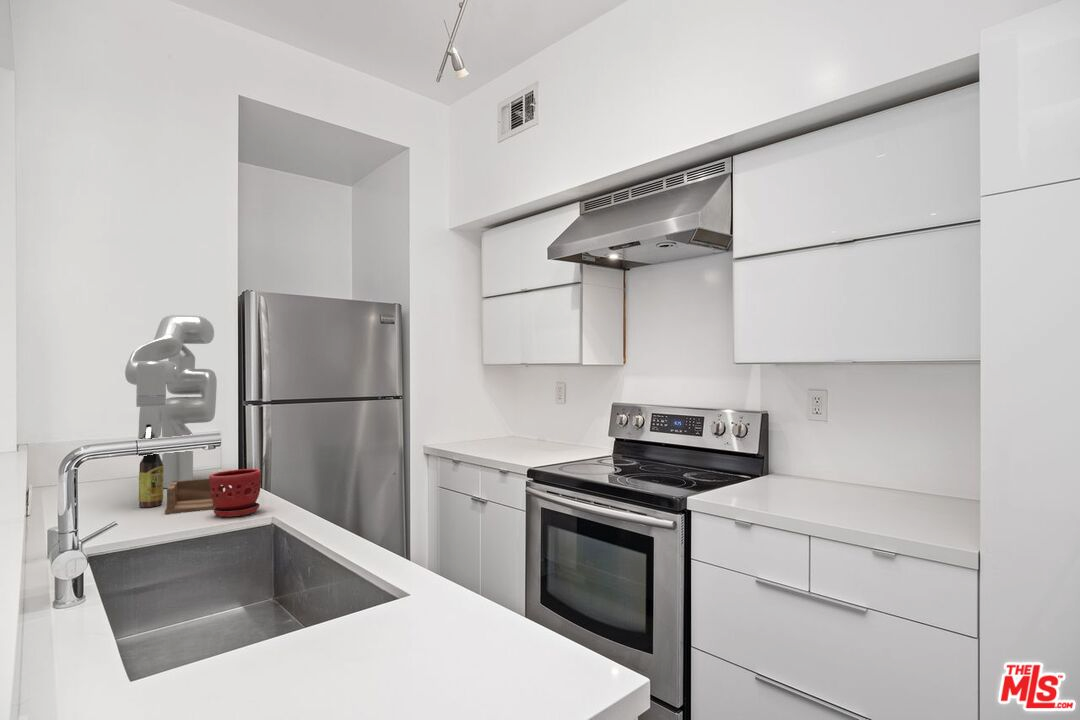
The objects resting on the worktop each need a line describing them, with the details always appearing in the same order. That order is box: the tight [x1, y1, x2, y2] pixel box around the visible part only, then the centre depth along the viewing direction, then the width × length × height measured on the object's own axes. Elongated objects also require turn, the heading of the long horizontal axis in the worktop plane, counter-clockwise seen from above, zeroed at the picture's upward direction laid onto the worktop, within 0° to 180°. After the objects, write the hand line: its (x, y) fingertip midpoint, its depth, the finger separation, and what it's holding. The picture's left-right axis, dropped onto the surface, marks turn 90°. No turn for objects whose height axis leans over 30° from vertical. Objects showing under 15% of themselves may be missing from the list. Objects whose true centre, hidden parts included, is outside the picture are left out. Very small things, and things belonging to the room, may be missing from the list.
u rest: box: [164, 478, 217, 515], centre depth 176 cm, size 14×14×7 cm
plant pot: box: [209, 468, 262, 518], centre depth 167 cm, size 13×13×12 cm
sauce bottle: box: [138, 453, 164, 508], centre depth 178 cm, size 6×6×20 cm
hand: (151, 460), depth 178 cm, fingers closed on sauce bottle, 5 cm apart
